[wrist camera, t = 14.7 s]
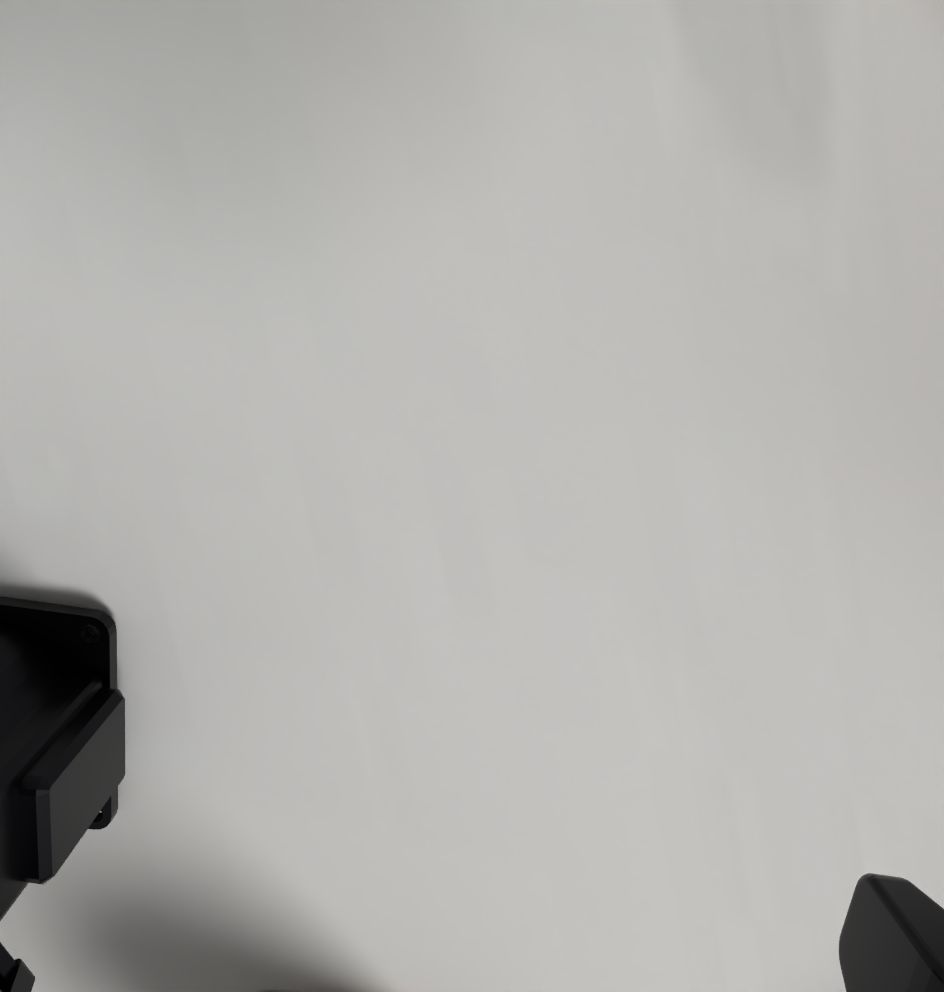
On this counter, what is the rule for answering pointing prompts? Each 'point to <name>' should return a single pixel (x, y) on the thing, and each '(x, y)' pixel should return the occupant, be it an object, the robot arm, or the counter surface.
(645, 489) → the counter surface
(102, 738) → the robot arm
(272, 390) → the counter surface
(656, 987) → the counter surface
